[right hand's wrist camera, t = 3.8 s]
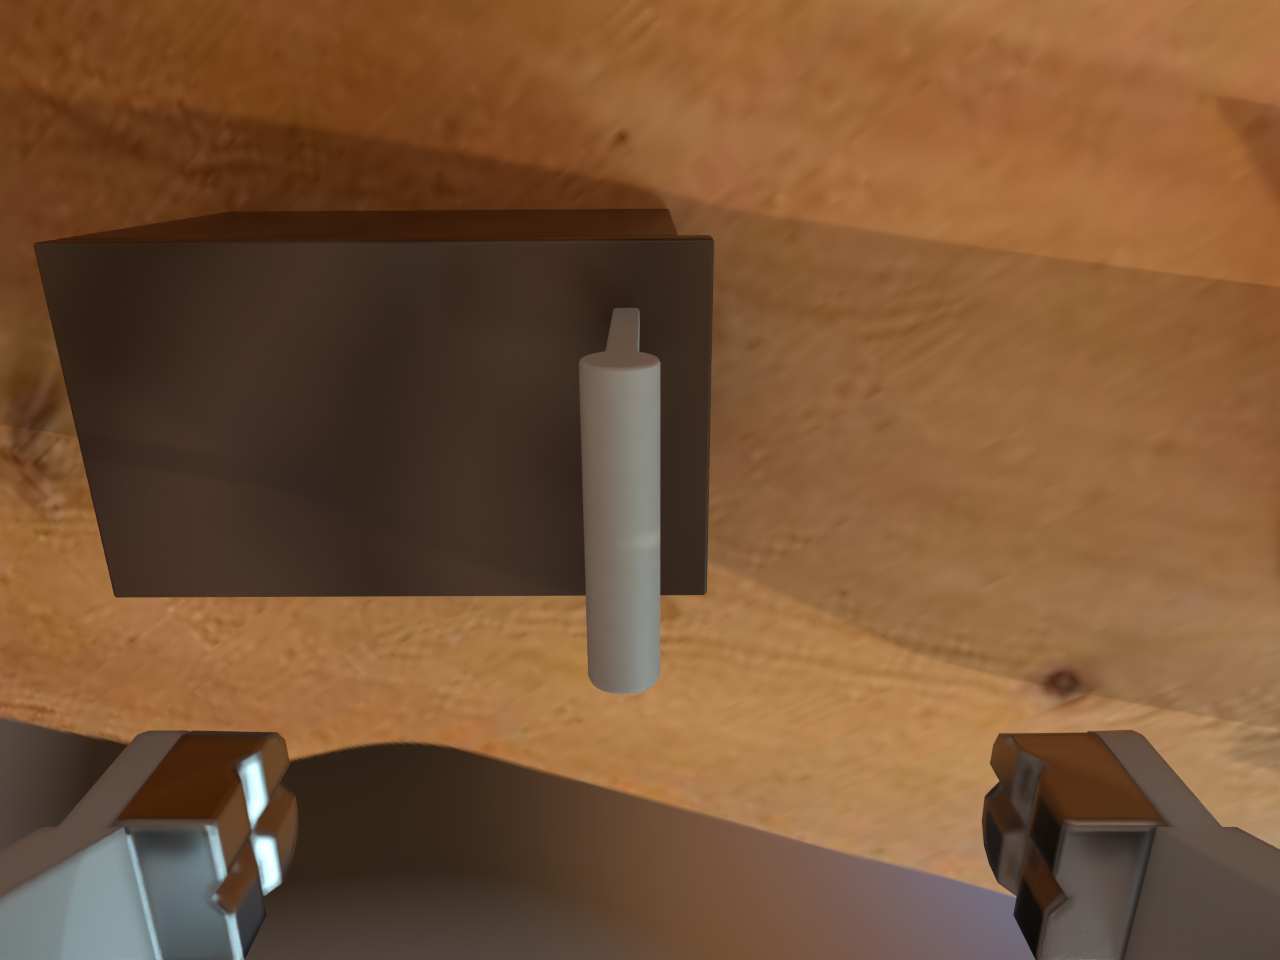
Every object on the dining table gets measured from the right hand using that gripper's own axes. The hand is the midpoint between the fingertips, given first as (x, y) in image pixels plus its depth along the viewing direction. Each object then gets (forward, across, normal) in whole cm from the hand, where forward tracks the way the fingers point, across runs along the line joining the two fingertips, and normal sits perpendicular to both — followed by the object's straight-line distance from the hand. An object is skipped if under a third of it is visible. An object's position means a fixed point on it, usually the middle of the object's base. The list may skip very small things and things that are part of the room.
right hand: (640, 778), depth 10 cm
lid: (+16, +7, +1) cm, 18 cm away
